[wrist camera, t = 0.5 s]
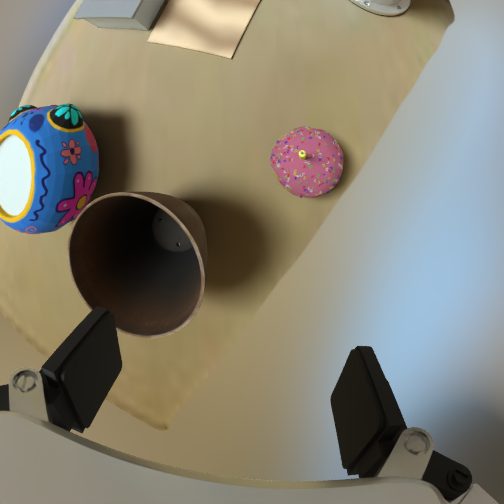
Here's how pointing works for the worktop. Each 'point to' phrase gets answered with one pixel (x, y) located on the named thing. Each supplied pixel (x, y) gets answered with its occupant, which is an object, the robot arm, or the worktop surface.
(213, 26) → the mat
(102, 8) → the lid
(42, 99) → the worktop surface
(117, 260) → the plant pot
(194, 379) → the worktop surface
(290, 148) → the cupcake
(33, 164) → the ceramic pot
